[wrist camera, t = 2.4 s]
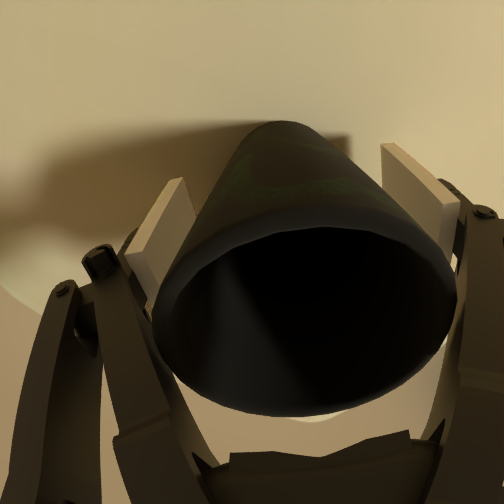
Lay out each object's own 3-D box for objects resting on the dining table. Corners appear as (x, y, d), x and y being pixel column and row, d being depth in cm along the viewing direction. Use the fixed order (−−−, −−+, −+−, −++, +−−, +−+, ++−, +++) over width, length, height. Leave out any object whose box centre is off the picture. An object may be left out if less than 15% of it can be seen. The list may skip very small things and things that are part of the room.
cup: (328, 238, 20) (373, 419, 10) (206, 216, 19) (158, 402, 9) (368, 121, 15) (510, 252, 5) (226, 88, 14) (149, 170, 5)
